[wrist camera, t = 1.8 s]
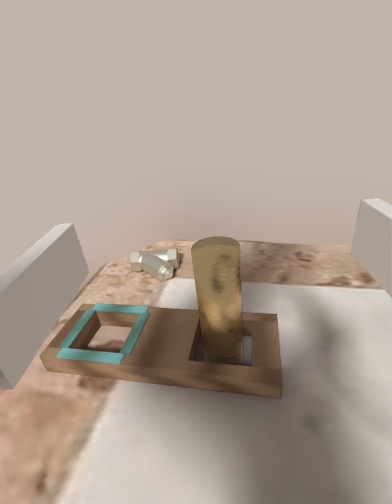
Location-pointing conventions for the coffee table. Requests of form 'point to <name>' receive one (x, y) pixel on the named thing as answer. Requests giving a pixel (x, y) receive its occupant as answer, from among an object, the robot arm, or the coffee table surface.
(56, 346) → the walnut rail
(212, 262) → the brass peg
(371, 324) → the coffee table surface
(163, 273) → the pipe fitting
